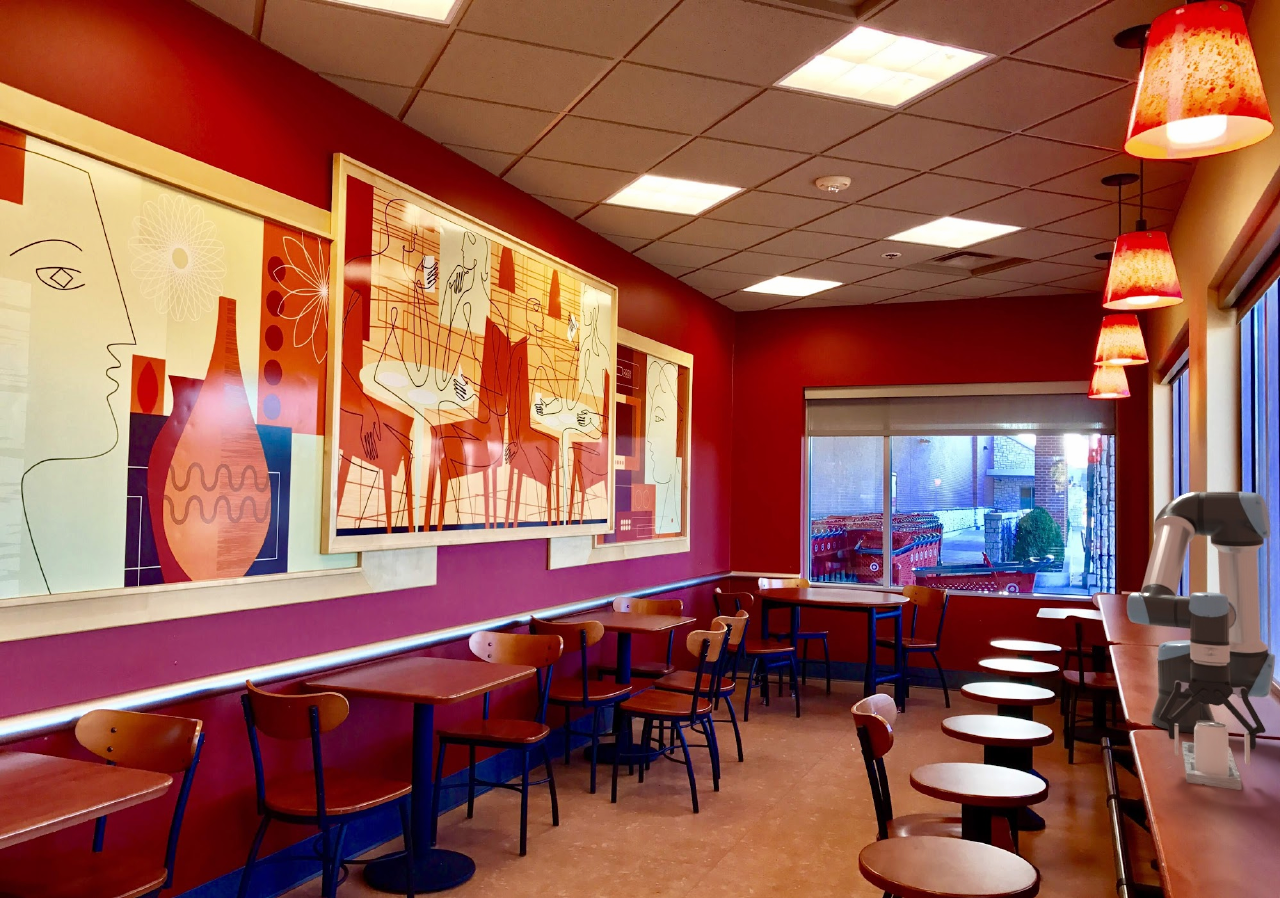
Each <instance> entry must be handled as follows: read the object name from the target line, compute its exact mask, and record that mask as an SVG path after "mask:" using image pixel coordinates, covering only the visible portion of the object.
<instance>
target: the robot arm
mask: <svg viewBox="0 0 1280 898" xmlns="http://www.w3.org/2000/svg"><path fill="white" fill-rule="evenodd" d="M1270 525H1271V523H1270V516H1269V511H1268V508H1267V504H1266V501H1265V498H1264V497H1263V496H1262V495H1261V494H1259V493H1258V492H1257V493H1256V492H1248V491H1247V492H1246V491H1191V492H1187V493H1184V494H1181V495H1179V496H1177V497H1175V498H1174V499H1172V500H1171V501H1169V502H1168V503H1167V504H1165V506H1163V508H1162V509H1161V510H1160V511H1159V513H1158V514H1157V515H1156V518H1155V520H1154V523H1153V533H1154V535H1155V537H1154V541H1153V545H1152V549H1151V553H1150V556H1149V560H1148V563H1147V567H1146V571H1145V574H1144V575H1145V576H1144V579H1143V583H1142V586H1141V590H1140V591H1138V592H1131V593H1130V594H1129V595H1128V596H1127V601H1126V613H1127V614H1126V615H1127V617H1128V619H1129V621H1130V622H1131V623H1133V624H1134V623H1135V624H1139V625H1146V626H1155V627H1158V626H1159V627H1168V628H1169V627H1170V628H1180V629H1181V628H1182V629H1189V631H1190V634H1189V635H1190V636H1189V638H1190V639H1184V640H1183V639H1182V640H1181V639H1180V640H1169V641H1166V642H1162V643H1160V644H1159V646H1158V648H1157V649H1158V650H1157V659H1156V660H1157V683H1158V684H1157V685H1158V687H1157V688H1158V689H1157V693H1158V694H1157V698H1156V701H1155V704H1154V706H1153V709H1152V713H1151V715H1150V717H1151V719H1150V720H1151V724H1152V723H1153V724H1152V725H1154V724H1155V725H1154V726H1156V727H1158V728H1162V729H1164V730H1165V729H1166V730H1167V731H1168V738H1169V739H1170V740H1174V756H1176V757H1177V756H1179V755H1180V753H1179V752H1180V751H1179V750H1180V748H1179V747H1180V746H1179V745H1180V744H1179V742H1180V741H1179V740H1180V739H1179V732H1181V733H1189V734H1194V728H1195V726H1196V724H1197V723H1196V721H1199V720H1208V721H1215V722H1216V719H1215V717H1214V714H1213V711H1212V709H1211V707H1210V705H1213V706H1215V707H1220V706H1221V705H1223V706H1224V707H1226V709H1228V711H1229V712H1230V713H1231V714H1232V715H1233V717H1234V718H1236V720H1238V722H1239V723H1240V724H1241V725H1242V726H1243V728H1244V729H1245V730H1246V731H1244V737H1243V738H1244V763H1245V765H1246V766H1251V750H1256V748H1257V739H1256V738H1257V737H1256V736H1257V735H1258V734H1264V733H1266V727H1265V726H1264V723H1262V721H1261V719H1260V717H1259V715H1258V714H1257V711H1256V710H1255V708H1254V707H1253V704H1252V703H1251V701H1250V699H1249V698H1250V697H1252V698H1263V699H1264V698H1267V697H1268V696H1269V695H1270V693H1271V690H1272V685H1273V680H1274V674H1275V667H1276V666H1275V665H1276V656H1275V654H1274V653H1272V652H1269V648H1268V645H1267V644H1266V643H1264V641H1263V640H1262V639H1261V621H1260V619H1261V618H1260V598H1259V597H1260V596H1259V593H1260V591H1259V572H1258V550H1259V549H1260V548H1261V547H1262V546H1263V545H1264V543H1265V542H1264V539H1268V538H1270V536H1271V526H1270ZM1195 536H1205V537H1206V536H1207V537H1210V544H1211V545H1212V546H1214V547H1215V548H1216V549H1217V559H1218V560H1217V561H1218V565H1217V566H1218V584H1219V586H1218V587H1219V592H1206V591H1197V592H1192V593H1191V594H1190V596H1183V595H1182V596H1181V595H1177V594H1178V591H1179V585H1180V583H1181V582H1180V581H1181V577H1182V572H1183V568H1184V563H1185V559H1186V554H1187V551H1188V545H1189V543H1191V542H1192V541H1193V539H1194V537H1195ZM1233 695H1235V696H1237V697H1238V699H1239V698H1240V699H1241V700H1242V703H1243V704H1244V706H1245V708H1246V710H1247V711H1248V713H1249V715H1250V716H1251V719H1252V721H1253V722H1254V724H1255V726H1253V725H1252V724H1251V723H1250V722H1249V721H1248V719H1246V717H1244V716H1243V714H1242V713H1241V711H1239V710H1238V709H1237V707H1235V706H1234V704H1233V703H1232V702H1231V700H1229V698H1230V697H1231V696H1233Z"/></svg>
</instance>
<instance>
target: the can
mask: <svg viewBox="0 0 1280 898" xmlns="http://www.w3.org/2000/svg"><path fill="white" fill-rule="evenodd" d="M1196 723H1197V724H1196V726H1195V728H1194V733H1193V736H1194V737H1193V739H1194V740H1193V743H1194V752H1195V771H1200V772H1207V773H1215V774H1222V775H1229V747H1230V746H1229V731H1228V729H1227V727H1226V726H1227V725H1226V724H1225V723H1224V722H1220V721H1216V720H1215V721H1208V720H1199V721H1196Z"/></svg>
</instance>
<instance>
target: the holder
mask: <svg viewBox="0 0 1280 898" xmlns="http://www.w3.org/2000/svg"><path fill="white" fill-rule="evenodd" d="M1181 749H1182V750H1181V751H1182V758H1183V764H1184V771H1185V778H1186V783H1189V784H1196V785H1202V784H1205V785H1204V786H1210V787H1217V788H1224V789H1231V790H1238V791H1242V778H1241V776H1240V773H1239V769H1238V767H1237V763H1236V760H1235V758H1234V755H1233V753H1232V749H1231V747H1230V746H1229V775H1222V774H1215V773H1207V772H1200V771H1195V752H1194V742H1188V741H1181Z"/></svg>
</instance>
